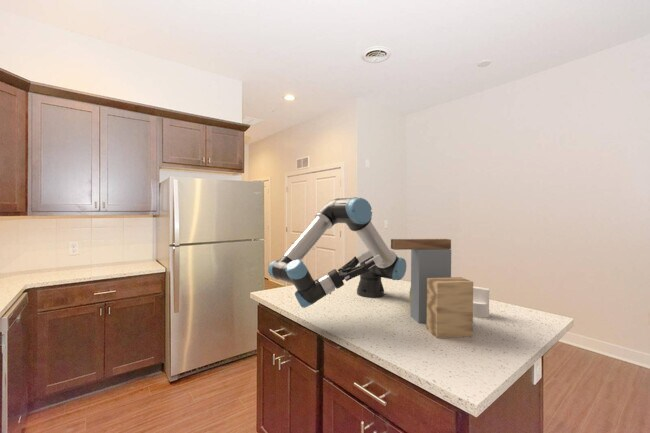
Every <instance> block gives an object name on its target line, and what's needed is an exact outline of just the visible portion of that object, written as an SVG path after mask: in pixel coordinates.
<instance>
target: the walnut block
mask: <svg viewBox="0 0 650 433" xmlns="http://www.w3.org/2000/svg"><path fill="white" fill-rule="evenodd" d="M411 249H450V250H452V239H449V238H390V250H393V251H394V250H398V251H399V250H405V251H406V250H407V251H409V250H411Z"/></svg>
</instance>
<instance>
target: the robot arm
mask: <svg viewBox="0 0 650 433" xmlns="http://www.w3.org/2000/svg"><path fill="white" fill-rule="evenodd" d="M372 209H373V208H372V206H371V204H370V202H369V201H368V200H367V199H365V198H362V197H345V198H344V197H341V198H335V199H332V200H331V201H330V200H329V201H328V202H327V203H326V204H325V205H324V206H322V208H320V210H318V212H317V213H316V214H315V215H314V218H315V219H314V220H312V222H311V223H310V224H309V225H308V227H307V228H306V229H305V230H304V231H303V232H302V233H301V234H300V236H299V237H298V238H297V239H296V240H295V242H294V243H292V244H291V246H290V247H289V248H288V250H286V252H284V254H283V255H282V256H281V257H280V258H279V259H277V260H273V261H271V262H270V263H269V265H268V267H267V270H268V275H269V276H270V277H271V278H273V279H276V280H280V281H283V282H286V283H289V284H292V285H293V286H294V287H295V288H296V291H295V293H294V296H295V299H296V300H297V302H298V304H299V306H301V308H302V309H306V308H308V307H310V306H311V305H314V304H315V303H317V302H318V301H320V300H321V299H323V298H324V297H326V296H328V295H332V293H333V292H334V291H336V289H340V288H341V287H343V286H344V285H345V283H344V280H345V282H348V281H350V280H352V279H353V278H354V279H355V278H356V277H358V276H359V277H360V278H359V281H358V282H359V283H358V285H357V288H356V294H357V295H358V296H361V297H364V298H380V297H383V296H385V288H384V285H383V282H382V278H383V279H388V280H393V281H400V280H402V279H403V278H404V276H405V275H406V272H407V260H405V258H403V257H399V256H398V255H397V254H396V252H395V251H394V250H393V249H390V248H389V247H388V245H387V244H386V242H385V241H384V239H383V238H382V236H381V235H380V234H379V232H378V230H377V229H376V227H375V226H374V224H373V223H372V218H373V217H372V216H373V211H372ZM337 224H346V226H347V227H348V228H349V230H350V231H352V232H355V233H356V234H357V235H358V237H359V238H360V240H361V241H362V242H363V244H364V245H365V247H366V248H367V250H368V251H366V252H363V253H361V254H360V255H359V256H357V257H356V256H354V257H353V258H352V259H351V260H349V261H348V262H346V263H345V264H344V265H342V266H341V267H340V268H338V269H336V268H334V269H331V270H330V271H329V272H327V274H326V273H325V274H323V275H322V276H319V277H318V278H317V279H315V280H314V278H313V276H312V275H311V273H310V271H309V269H308V267H307V266H306V265H305V264H304V262H303V260H304V258H305V256H307V255H308V253H309V252H310V251H311V249H312V248H313V247H314V246H315V245H316V244H317V242H318V241H319V240H320V239H321V238H322V236H323V235H325V232H326V231H327V230H331V229H332V228H333V226H334V225H337Z"/></svg>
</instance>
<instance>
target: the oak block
mask: <svg viewBox="0 0 650 433" xmlns="http://www.w3.org/2000/svg"><path fill="white" fill-rule="evenodd" d="M473 286H474V281H472V280H470V279H467V278H464V277H460V276H459V277H454V276H453V277H452V276H451V277H449V278H427V323H426V330H427V331H428V332H429V333H430V334H432V335H433V336H434V337H435V338H436V339H440V338H441V339H443V338H458V337H459V338H461V337H463V338H464V337H473V336H474V328H473V327H474V317H473Z"/></svg>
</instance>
